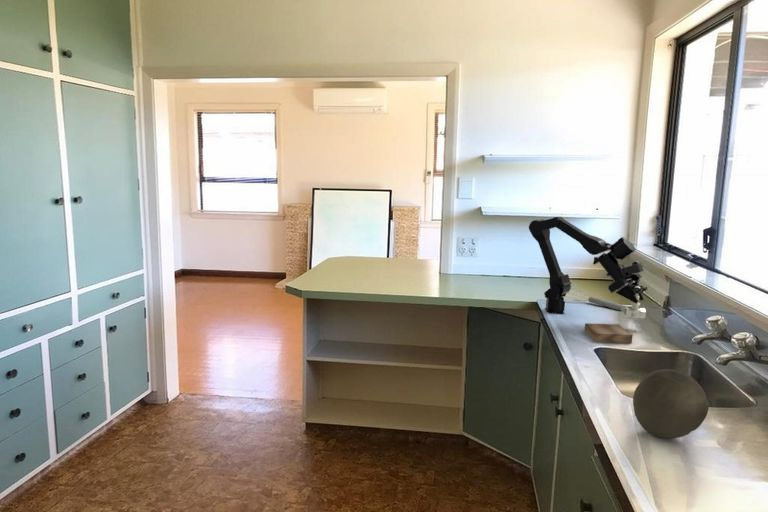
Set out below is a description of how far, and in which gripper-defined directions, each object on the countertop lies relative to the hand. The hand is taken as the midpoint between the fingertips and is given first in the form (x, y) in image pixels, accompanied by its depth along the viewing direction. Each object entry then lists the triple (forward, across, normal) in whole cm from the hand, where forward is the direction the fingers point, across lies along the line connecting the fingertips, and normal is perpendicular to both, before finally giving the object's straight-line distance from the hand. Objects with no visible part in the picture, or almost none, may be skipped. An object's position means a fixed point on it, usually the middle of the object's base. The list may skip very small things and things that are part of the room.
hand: (640, 301), depth 196 cm
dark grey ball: (+30, -80, -16) cm, 87 cm away
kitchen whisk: (-12, +26, +28) cm, 40 cm away
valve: (+4, 0, +6) cm, 7 cm away
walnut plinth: (+5, -18, +10) cm, 21 cm away
